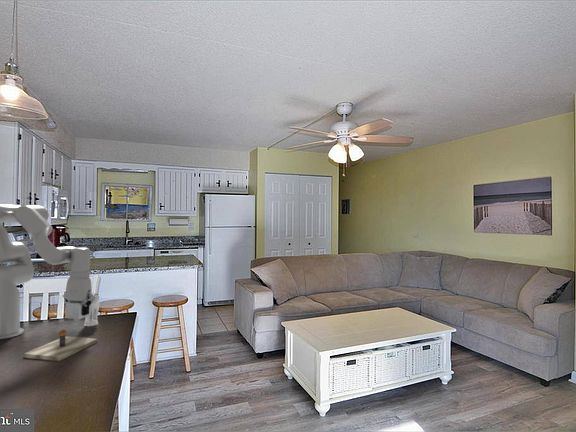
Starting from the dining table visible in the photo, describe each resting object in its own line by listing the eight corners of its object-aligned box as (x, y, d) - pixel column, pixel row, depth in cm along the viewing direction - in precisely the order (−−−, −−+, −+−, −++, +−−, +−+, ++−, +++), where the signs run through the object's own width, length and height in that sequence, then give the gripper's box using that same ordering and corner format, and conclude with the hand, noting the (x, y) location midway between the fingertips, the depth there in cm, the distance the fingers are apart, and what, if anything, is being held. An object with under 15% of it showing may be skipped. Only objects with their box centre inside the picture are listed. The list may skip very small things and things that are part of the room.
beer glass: (86, 328, 163) (87, 297, 163) (80, 325, 167) (81, 295, 167) (101, 324, 168) (102, 294, 168) (95, 321, 172) (95, 292, 172)
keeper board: (23, 357, 128) (23, 336, 128) (64, 339, 147) (65, 321, 147) (59, 360, 126) (59, 339, 126) (96, 342, 144) (97, 323, 144)
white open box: (65, 318, 149) (65, 302, 149) (77, 313, 156) (78, 298, 156) (78, 319, 148) (79, 303, 148) (90, 315, 154) (91, 300, 154)
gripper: (56, 274, 149) (54, 314, 149) (90, 277, 146) (88, 318, 146) (70, 272, 157) (68, 310, 157) (102, 274, 154) (101, 313, 154)
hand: (78, 313), depth 152 cm, fingers closed on white open box, 7 cm apart
